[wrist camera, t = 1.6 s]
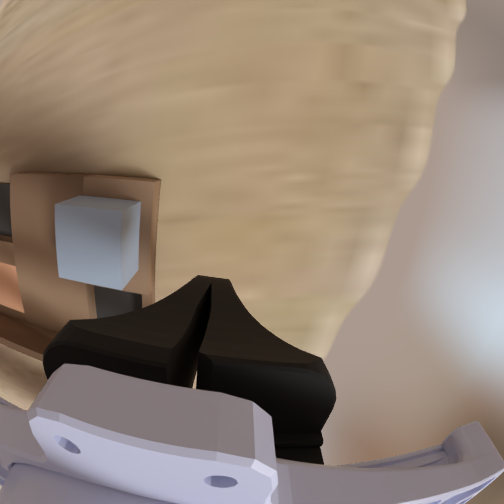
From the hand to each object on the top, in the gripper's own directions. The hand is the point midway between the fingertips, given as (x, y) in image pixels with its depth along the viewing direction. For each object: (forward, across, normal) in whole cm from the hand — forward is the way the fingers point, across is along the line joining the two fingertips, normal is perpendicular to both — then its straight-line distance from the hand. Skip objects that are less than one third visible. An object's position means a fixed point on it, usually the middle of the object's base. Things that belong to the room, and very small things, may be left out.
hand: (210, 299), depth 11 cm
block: (+7, +8, 0) cm, 10 cm away
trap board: (+8, +14, +3) cm, 17 cm away
